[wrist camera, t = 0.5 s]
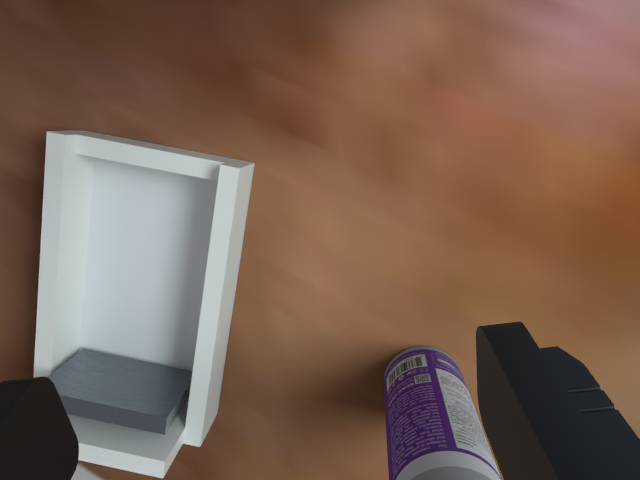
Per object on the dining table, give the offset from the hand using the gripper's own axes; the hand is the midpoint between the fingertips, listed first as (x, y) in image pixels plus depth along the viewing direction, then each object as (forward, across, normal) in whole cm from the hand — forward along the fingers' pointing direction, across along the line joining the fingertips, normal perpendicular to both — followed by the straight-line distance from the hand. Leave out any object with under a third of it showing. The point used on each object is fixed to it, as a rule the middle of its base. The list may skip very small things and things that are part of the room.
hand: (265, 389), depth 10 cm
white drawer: (+20, +10, +7) cm, 23 cm away
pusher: (+18, +12, +12) cm, 25 cm away
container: (+18, -5, +15) cm, 24 cm away
